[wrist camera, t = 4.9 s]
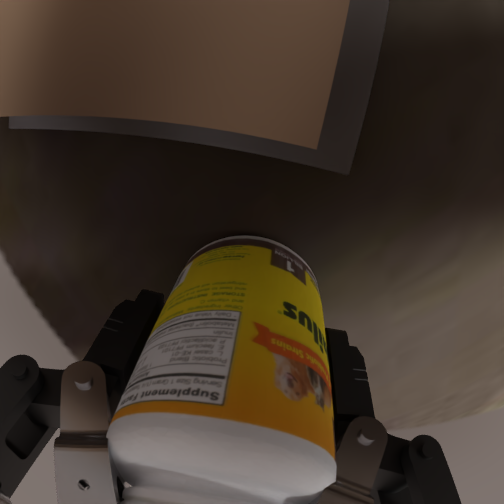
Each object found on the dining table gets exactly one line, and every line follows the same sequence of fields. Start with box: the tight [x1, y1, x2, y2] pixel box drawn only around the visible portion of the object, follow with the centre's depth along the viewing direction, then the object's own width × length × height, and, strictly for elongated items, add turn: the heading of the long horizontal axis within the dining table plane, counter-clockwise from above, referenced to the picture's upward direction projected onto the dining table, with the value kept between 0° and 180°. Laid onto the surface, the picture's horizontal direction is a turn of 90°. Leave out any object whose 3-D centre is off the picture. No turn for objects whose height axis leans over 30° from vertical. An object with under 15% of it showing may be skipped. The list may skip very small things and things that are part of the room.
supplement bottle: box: [106, 235, 337, 504], centre depth 8 cm, size 6×6×10 cm
